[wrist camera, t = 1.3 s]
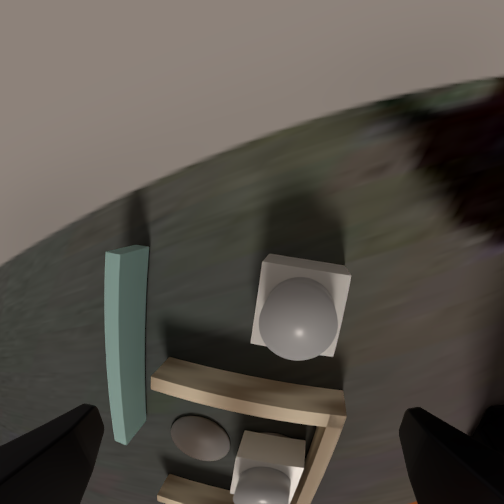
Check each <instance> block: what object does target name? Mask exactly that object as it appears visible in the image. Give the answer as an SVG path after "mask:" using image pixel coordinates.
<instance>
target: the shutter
mask: <svg viewBox="0 0 504 504" xmlns="http://www.w3.org/2000/svg"><path fill="white" fill-rule="evenodd" d="M148 256H149V247H147V246H141V245H132V246H128V247H124V248H119V249H115V250H111V251H107V252H106V256H105V345H106V363H107V377H108V389H109V399H110V408H111V416H112V424H113V431H114V438H115V441H117V442H120V443H122V444H124V445H127V444H128V443H129V442H130V440H131V439H132V438H133V437H134V435H135V434H136V433H137V432H138V430H139V429H140V428H141V426H142V425H143V424H144V423H145V421H146V401H145V312H146V288H147V271H148Z"/></svg>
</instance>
